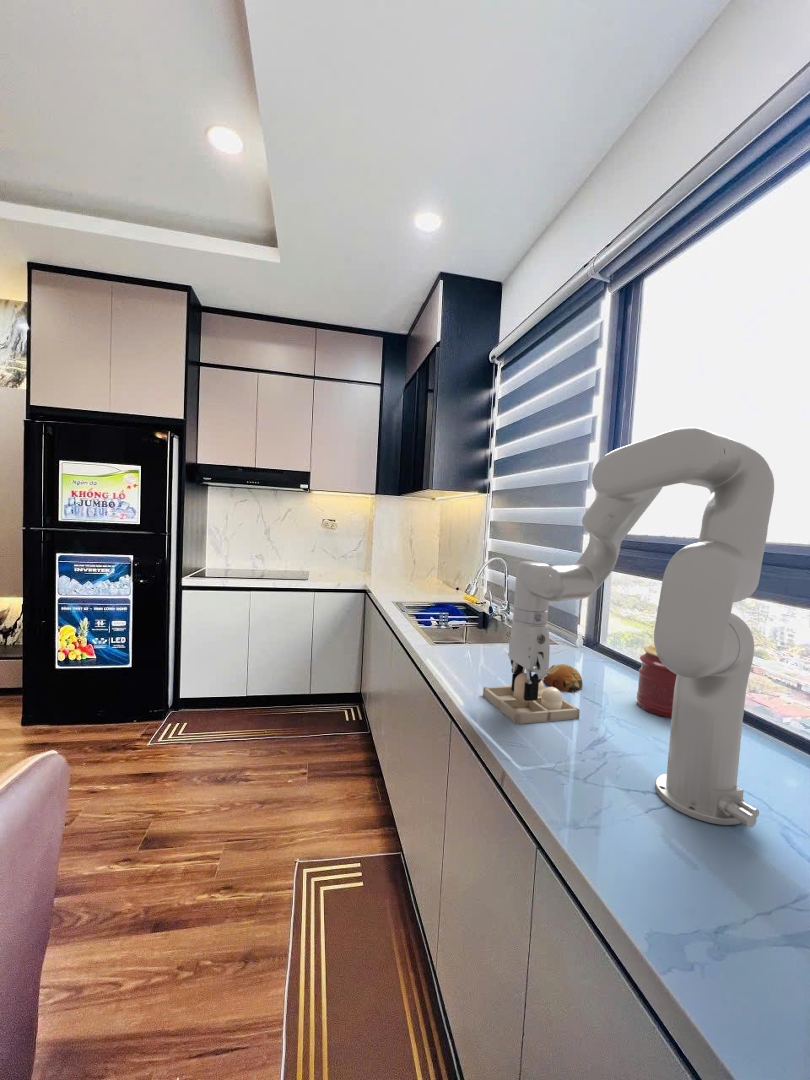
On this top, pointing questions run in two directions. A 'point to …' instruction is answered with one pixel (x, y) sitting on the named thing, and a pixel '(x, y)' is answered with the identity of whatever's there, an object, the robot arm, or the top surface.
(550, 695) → the pale egg
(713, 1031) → the top surface
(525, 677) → the brown egg
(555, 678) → the bread roll
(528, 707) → the egg tray
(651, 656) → the canister
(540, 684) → the pale egg
